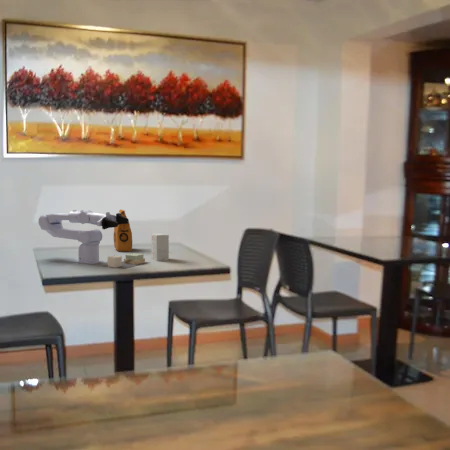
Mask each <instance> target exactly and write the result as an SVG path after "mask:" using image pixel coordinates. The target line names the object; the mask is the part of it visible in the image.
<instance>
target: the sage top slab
mask: <svg viewBox="0 0 450 450" xmlns="http://www.w3.org/2000/svg"><path fill="white" fill-rule="evenodd" d="M143 258H144V254H143V253H134V252H133V253H132V252H131V253H128V254H125V259H129V260H139V259H143Z"/></svg>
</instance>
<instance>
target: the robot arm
mask: <svg viewBox="0 0 450 450" xmlns="http://www.w3.org/2000/svg"><path fill="white" fill-rule="evenodd" d="M63 221H68V222H69V223H72V224H82V225H84V224H90V225H94V226H97V227H102V230H107V229H110V228H114V227H118V225H120V224H128V223H129V224H130V220H129V218H128V217H127V218H125V217H124V216H122V215H121V214H120V213H119V212H117V213H116V214H110V212H109V211H107V212H105V213H101V212H94V211H92V210H86V211H85V210H76V209H72V210H71V211H69V213H63V212H62V213H61V212H58V213H49V214H45V215H44V214H43V215H40V216H39V217H38V225H39V227H40V229H41V230H43V231H45V232H47V233H48V234H49V235H50V236H52V237H53V238H58V239H66V240H67V239H68V240H74V241H77V242H79V243H81V244H80V245H79V246H78V261H77V263H80V264H81V263H82V264H90V265H93V264H98V263H102V262H104V261H103V260H100V244H101V241H102V240H103V233H102V231H101V230H100V229H97V228H96V229H92V230H81V229H73V228H64V227H63Z"/></svg>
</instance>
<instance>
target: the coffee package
mask: <svg viewBox="0 0 450 450" xmlns="http://www.w3.org/2000/svg"><path fill="white" fill-rule="evenodd" d="M118 213H120V214H121V215H122V216H124V217H125V218H128V217H127V215H126V210H124V209H119V210H118ZM113 245H114V248H115V249H116V251H118V252H132V250H133V233H132V229H131V225H130V222H129V223H128V224H120V225H118V227H113Z"/></svg>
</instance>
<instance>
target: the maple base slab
mask: <svg viewBox="0 0 450 450" xmlns="http://www.w3.org/2000/svg"><path fill="white" fill-rule="evenodd" d="M123 261H124V263H126V264H134V265H137V264H141V263H145V262H146V258H145V257H143V259H139V260H129V259H126V258H124V259H123Z"/></svg>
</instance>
